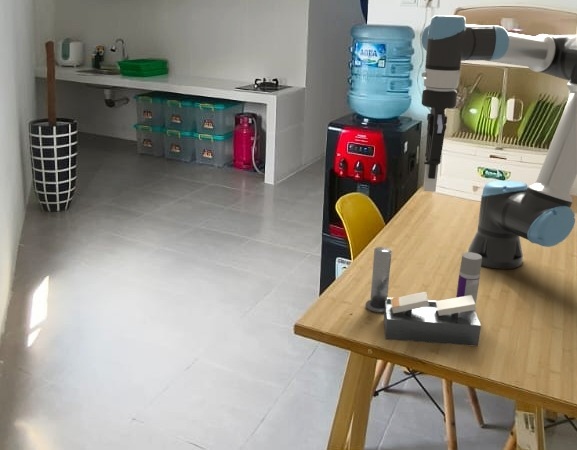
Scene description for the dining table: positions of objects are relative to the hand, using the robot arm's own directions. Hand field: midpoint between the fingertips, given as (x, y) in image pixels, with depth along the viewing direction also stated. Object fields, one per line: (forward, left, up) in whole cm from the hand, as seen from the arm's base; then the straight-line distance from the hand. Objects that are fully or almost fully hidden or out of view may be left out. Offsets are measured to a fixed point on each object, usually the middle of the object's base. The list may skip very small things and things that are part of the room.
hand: (429, 190), depth 149 cm
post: (+10, +6, -28) cm, 31 cm away
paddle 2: (-6, +17, -21) cm, 28 cm away
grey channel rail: (-1, +17, -28) cm, 33 cm away
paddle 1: (+4, +17, -21) cm, 27 cm away
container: (-10, +6, -29) cm, 31 cm away
